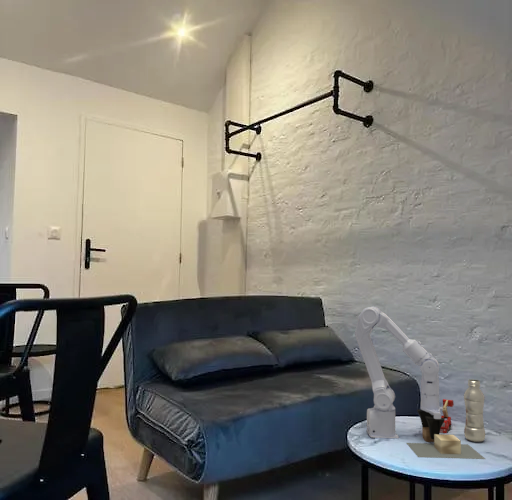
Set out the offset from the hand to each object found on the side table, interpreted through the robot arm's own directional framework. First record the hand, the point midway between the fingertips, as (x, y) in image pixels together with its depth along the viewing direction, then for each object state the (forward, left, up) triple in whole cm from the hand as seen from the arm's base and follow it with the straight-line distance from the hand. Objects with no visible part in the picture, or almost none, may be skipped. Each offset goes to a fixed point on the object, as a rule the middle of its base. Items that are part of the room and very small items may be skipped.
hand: (430, 435), depth 161 cm
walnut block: (0, 0, -2) cm, 2 cm away
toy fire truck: (+10, +14, -2) cm, 17 cm away
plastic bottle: (+15, +1, -2) cm, 15 cm away
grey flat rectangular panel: (+1, -10, -2) cm, 10 cm away
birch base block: (+2, -10, -2) cm, 10 cm away
